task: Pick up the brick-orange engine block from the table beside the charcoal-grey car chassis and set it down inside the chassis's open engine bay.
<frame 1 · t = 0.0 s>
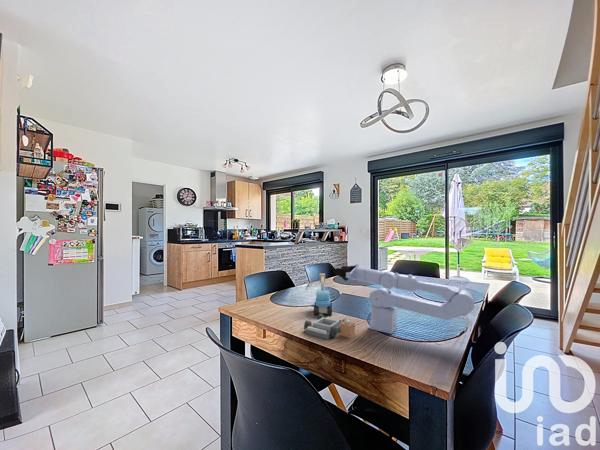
hand: (337, 269, 116), 22 cm above the table, tool horizontal, fingers open, 7 cm apart
chassis: (326, 329, 102), on the table
toy excavator: (323, 311, 126), on the table
engine block: (347, 335, 97), on the table
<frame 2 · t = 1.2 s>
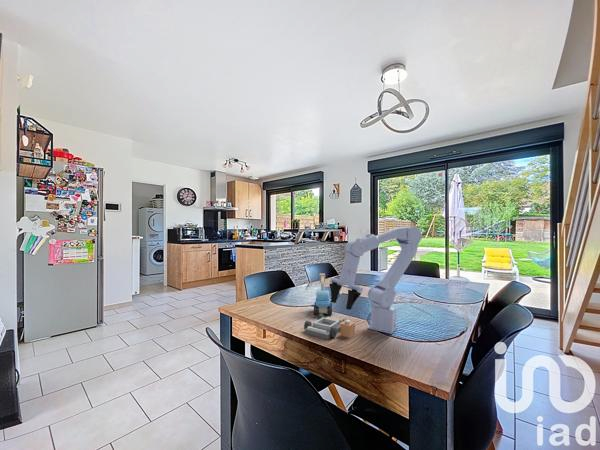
hand: (340, 305, 100), 10 cm above the table, tool pointing down, fingers open, 7 cm apart
nothing on the table moved.
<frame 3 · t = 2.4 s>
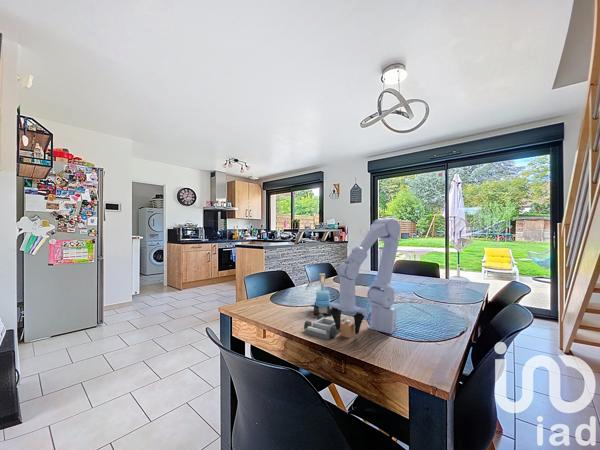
hand: (347, 330, 97), 1 cm above the table, tool pointing down, fingers open, 7 cm apart
nothing on the table moved.
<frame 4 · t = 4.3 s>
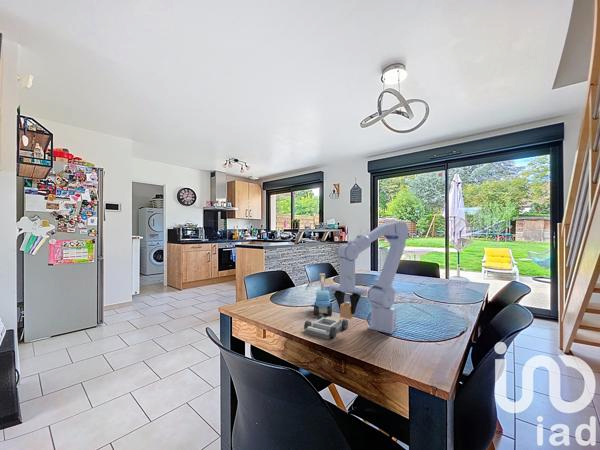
hand: (347, 312, 97), 8 cm above the table, tool pointing down, fingers closed on engine block, 4 cm apart
engine block: (347, 316, 97), point 7 cm above the table, touching gripper
everything else where it was.
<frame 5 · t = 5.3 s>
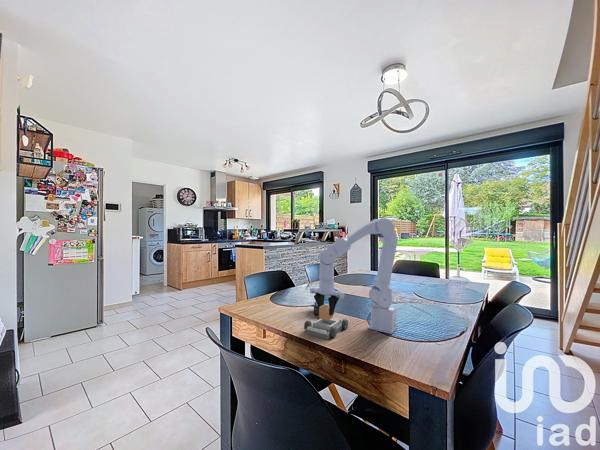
hand: (326, 313, 103), 6 cm above the table, tool pointing down, fingers closed on engine block, 4 cm apart
engine block: (326, 318, 102), point 5 cm above the table, touching gripper
everything else where it was.
when the fingers open (4 cm above the table, at t = 6.0 s): engine block drops 1 cm, resting on chassis.
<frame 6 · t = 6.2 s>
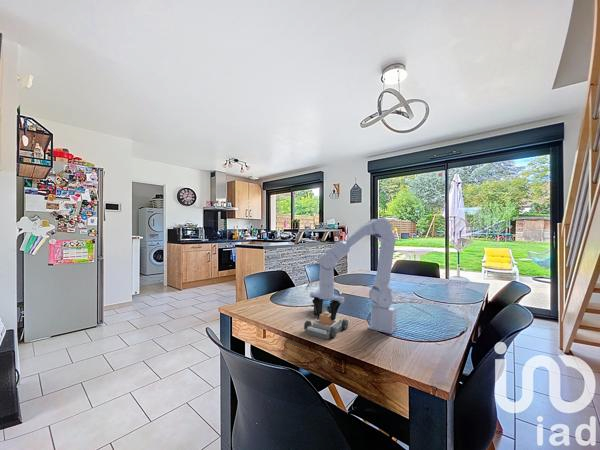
hand: (326, 318, 103), 4 cm above the table, tool pointing down, fingers open, 5 cm apart
engine block: (326, 325, 102), point 1 cm above the table, touching chassis
everything else where it was.
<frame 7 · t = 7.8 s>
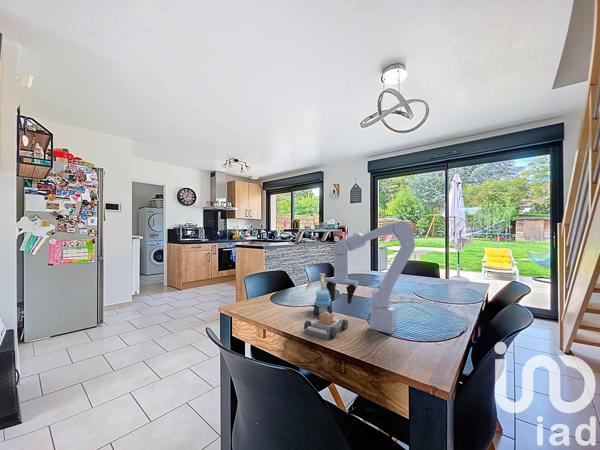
hand: (341, 301, 109), 9 cm above the table, tool pointing down, fingers open, 7 cm apart
nothing on the table moved.
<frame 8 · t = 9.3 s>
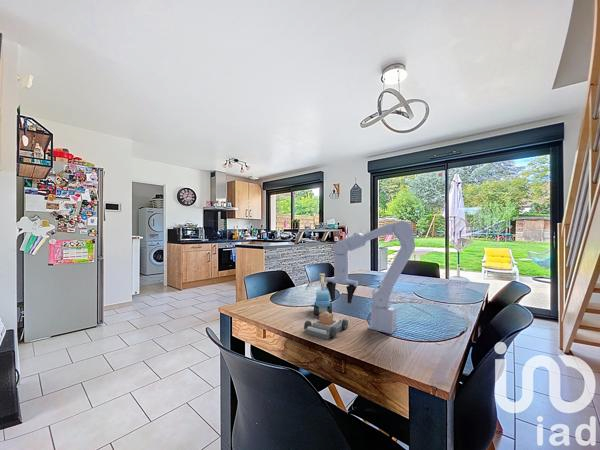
hand: (341, 301, 109), 9 cm above the table, tool pointing down, fingers open, 7 cm apart
nothing on the table moved.
at the end: engine block 0.3 cm off-centre on the chassis, point 1.5 cm above the chassis's base; engine block tilted 0°; the gripper is holding nothing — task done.
